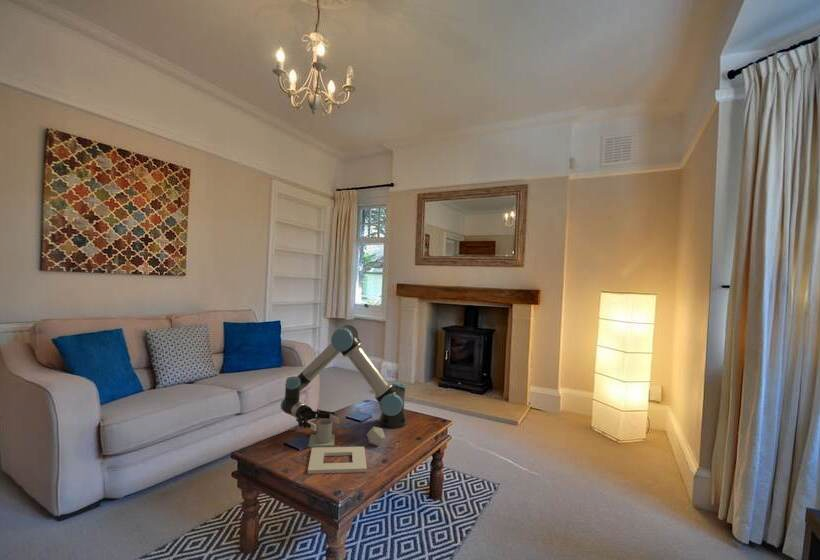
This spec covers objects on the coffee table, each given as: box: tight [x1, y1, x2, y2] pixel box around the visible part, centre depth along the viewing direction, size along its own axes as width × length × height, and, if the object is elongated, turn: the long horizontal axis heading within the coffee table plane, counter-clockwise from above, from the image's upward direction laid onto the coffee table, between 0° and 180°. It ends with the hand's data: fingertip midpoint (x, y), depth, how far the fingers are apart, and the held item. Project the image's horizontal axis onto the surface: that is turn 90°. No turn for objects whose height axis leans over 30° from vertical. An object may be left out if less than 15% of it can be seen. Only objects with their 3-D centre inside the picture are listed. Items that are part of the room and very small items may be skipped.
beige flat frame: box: [307, 446, 368, 475], centre depth 161 cm, size 24×20×2 cm
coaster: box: [307, 433, 336, 448], centre depth 179 cm, size 12×12×1 cm
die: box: [366, 425, 386, 447], centre depth 180 cm, size 8×9×10 cm
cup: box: [316, 418, 333, 443], centre depth 179 cm, size 7×10×9 cm
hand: (327, 424), depth 177 cm, fingers open, 13 cm apart
